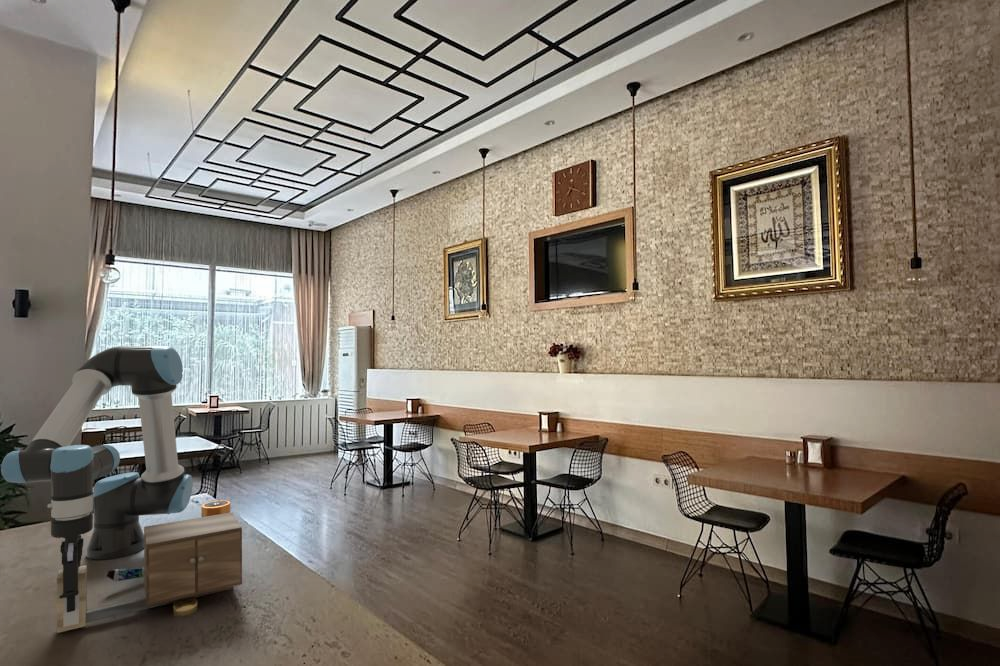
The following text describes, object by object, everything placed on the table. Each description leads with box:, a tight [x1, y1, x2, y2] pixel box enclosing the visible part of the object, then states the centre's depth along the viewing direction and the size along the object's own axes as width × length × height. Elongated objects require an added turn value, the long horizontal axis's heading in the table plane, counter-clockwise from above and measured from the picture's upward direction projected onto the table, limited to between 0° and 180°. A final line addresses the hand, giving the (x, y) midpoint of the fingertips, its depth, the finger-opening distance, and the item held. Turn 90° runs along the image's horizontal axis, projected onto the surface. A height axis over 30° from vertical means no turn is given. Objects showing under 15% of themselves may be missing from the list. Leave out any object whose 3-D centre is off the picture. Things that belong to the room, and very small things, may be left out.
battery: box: [201, 500, 231, 517], centre depth 154 cm, size 7×7×20 cm
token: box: [172, 597, 198, 618], centre depth 133 cm, size 5×5×2 cm
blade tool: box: [56, 564, 169, 634], centre depth 130 cm, size 5×21×12 cm, turn 124°
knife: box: [106, 566, 144, 582], centre depth 155 cm, size 31×3×4 cm, turn 134°
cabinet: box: [143, 511, 243, 607], centre depth 138 cm, size 16×20×18 cm
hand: (72, 619), depth 125 cm, fingers closed on blade tool, 5 cm apart
